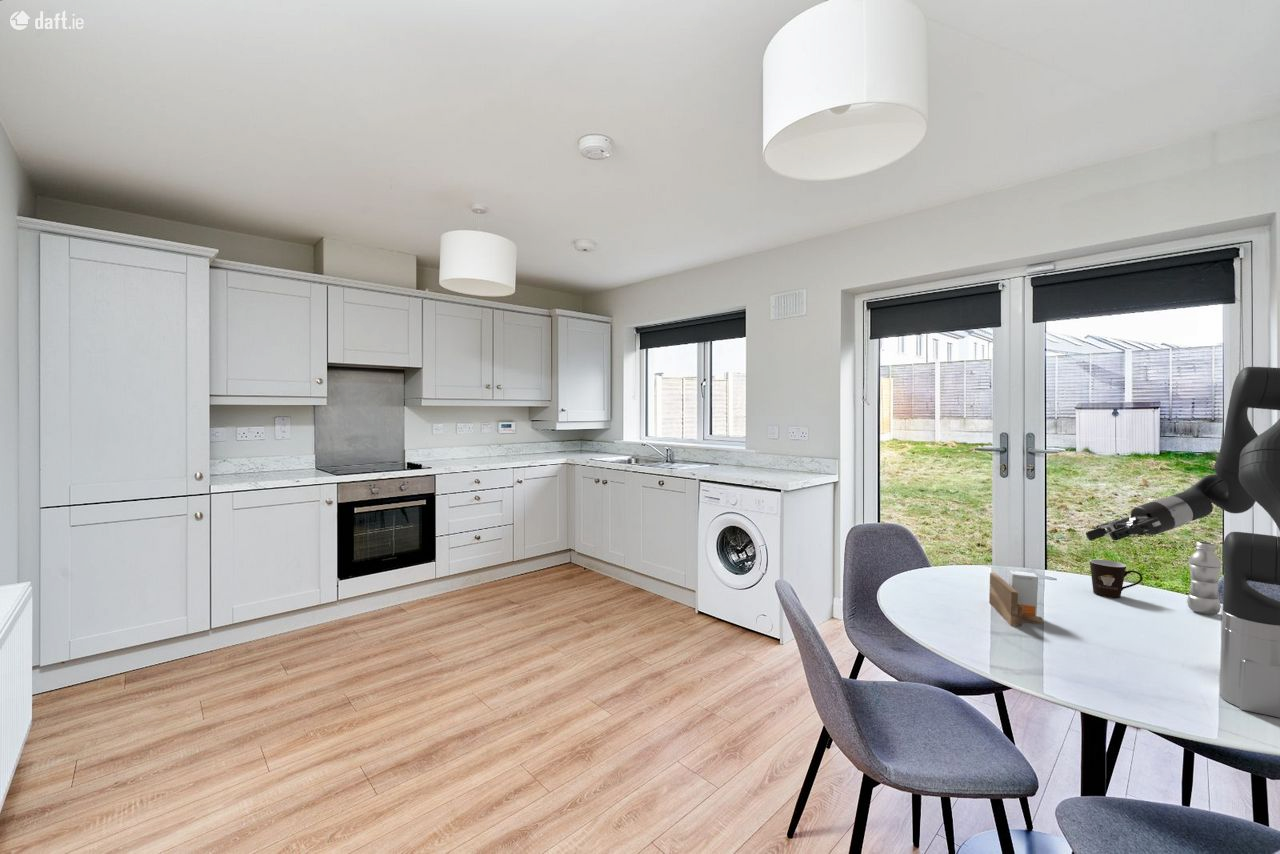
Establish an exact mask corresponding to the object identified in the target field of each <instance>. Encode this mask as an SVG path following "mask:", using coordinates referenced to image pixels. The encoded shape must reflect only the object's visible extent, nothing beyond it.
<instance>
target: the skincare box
mask: <svg viewBox="0 0 1280 854" xmlns="http://www.w3.org/2000/svg"><path fill="white" fill-rule="evenodd" d="M1008 580H1009V581H1008V584H1009V585H1010V586H1011V587H1012V588H1013V589H1015V590H1016V591H1017V592H1018V604H1019V605H1020V606H1021V607H1022V615H1028V616H1037V613H1038V611H1037V610H1038V609H1037V608H1038V607H1037V606H1038V591H1039V589H1038V588H1039V586H1038V585H1039V576H1038V575H1037V574H1036V573H1035V572H1026V571H1021V570H1020V571H1017V570H1009V578H1008Z"/></svg>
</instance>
